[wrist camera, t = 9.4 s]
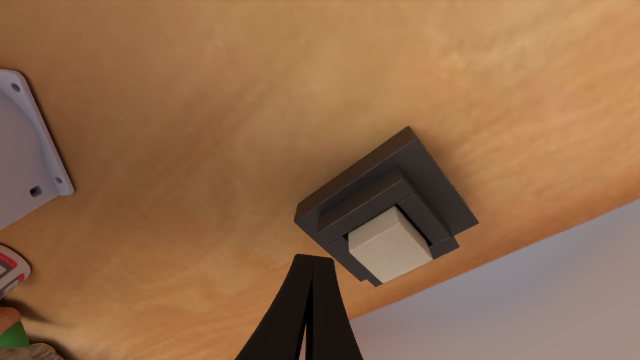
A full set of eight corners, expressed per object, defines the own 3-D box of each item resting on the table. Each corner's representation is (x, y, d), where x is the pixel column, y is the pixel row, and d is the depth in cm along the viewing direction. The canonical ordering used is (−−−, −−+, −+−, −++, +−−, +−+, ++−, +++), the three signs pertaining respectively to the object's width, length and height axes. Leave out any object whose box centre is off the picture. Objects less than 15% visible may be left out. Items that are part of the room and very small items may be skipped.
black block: (359, 261, 24) (362, 302, 20) (297, 204, 21) (288, 239, 17) (466, 204, 20) (492, 241, 16) (408, 125, 17) (425, 150, 14)
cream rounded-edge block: (379, 263, 19) (382, 284, 17) (347, 232, 17) (348, 252, 16) (425, 239, 17) (433, 260, 16) (394, 204, 16) (400, 223, 15)
